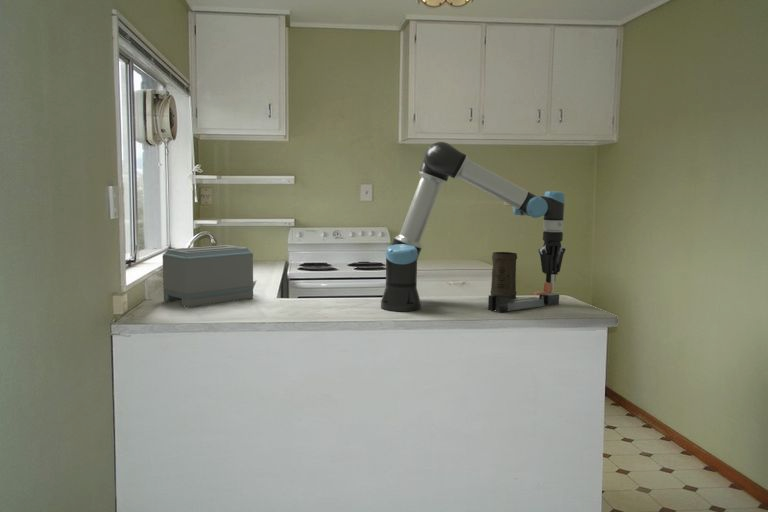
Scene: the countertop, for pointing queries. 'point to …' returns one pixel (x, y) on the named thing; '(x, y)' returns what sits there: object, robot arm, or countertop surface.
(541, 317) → the countertop surface
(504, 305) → the tong arm
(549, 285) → the lock tab
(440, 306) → the countertop surface
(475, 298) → the countertop surface
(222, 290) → the toaster
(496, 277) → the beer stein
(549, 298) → the tongs base
